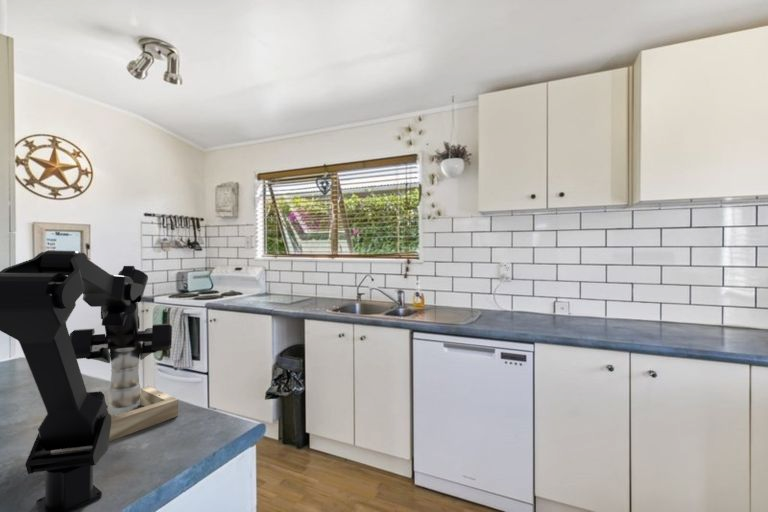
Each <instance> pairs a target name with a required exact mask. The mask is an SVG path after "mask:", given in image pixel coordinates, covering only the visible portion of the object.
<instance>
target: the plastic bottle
mask: <svg viewBox="0 0 768 512" xmlns="http://www.w3.org/2000/svg"><path fill="white" fill-rule="evenodd" d="M141 347H142V342H137V343H136V345H135V347H131V348H120V349H109V353H110V357H111V361H110V366H111V374H110V375H111V376H110V383H109V388H108V393H107V405H109V406H110V408H113V409H123V408H128V407H132V406H134V405H136V404H137V403H138V402H140V395H141V388H142V387H141V383H140V374H139V373H140V372H139V370H140V369H139V368H140V366H139V365H140V353H141Z"/></svg>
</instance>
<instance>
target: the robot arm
mask: <svg viewBox="0 0 768 512" xmlns="http://www.w3.org/2000/svg"><path fill="white" fill-rule="evenodd" d="M148 280H149V277H148V275H147V274H146V273H145V272H144V271H141V270H140V269H136V268H135V265H123V267H122V269H121V270H120V271H119V272H118V274H117V275H116V274H110V273H109V272H108V271H106V270H105V269H103V268H102V267H100V266H98V265H97V264H96V263H95V262H93V261H91V260H90V259H88V256H87V255H86V253H85V252H80V251H79V250H46V251H41V252H40V253H38V254H37V255H36V256H34V257H33V258H30V259H28V260H25V261H22V262H20V263H17V264H14V265H10V266H8V267H5V268H4V269H2V270H0V332H1V333H3V334H6V335H7V336H9V337H11V338H13V339H15V340H16V341H18V343H19V345H20V348H21V350H22V353H23V356H24V358H25V361H26V363H27V364H28V365H27V366H28V368H29V370H30V373H31V376H32V378H33V381H34V382H35V385H36V388H37V390H38V392H39V395H40V398H41V401H42V402H43V405H44V408H45V411H46V415H45V417H44V419H43V420H42V422H41V423H40V425H39V427H38V429H37V431H38V433H37V436H36V439H35V440H34V443H33V445H32V447H31V450H30V453H29V455H28V457H27V459H26V462H25V468H26V473H27V474H28V475H31V474H34V473H41V472H45V474H44V475H45V476H44V477H45V478H44V482H45V484H44V487H45V488H44V496H43V497H41V498H39V499H38V498H37V499H36V501H35V506H37V508H38V509H39V510H40V511H41V512H72V511H74V510H76V509H78V508H80V507H83V506H84V505H87V504H88V503H91V502H93V501H95V500H97V499H100V498H101V497H102V496H103V492H102V490H100V489H99V488H98V487H96V485H94V466H96V465H97V464H98V463H99V461H100V460H101V459H102V457H104V455H105V454H106V453H107V451H108V448H109V442H110V441H109V435H110V428H111V415H110V414H108V408H109V406H108V404H107V402H106V399H105V394H104V393H103V392H102V391H101V390H100V391H89V392H88V391H87V388H86V385H85V382H84V378H83V375H82V373H81V369H80V366H79V362H78V360H81V359H86V360H94V361H100V362H103V363H107V364H111V357H110V350H109V349H120V348H131V347H135V345H136V343H137V342H142V346H141V353H140V358H139V361H141V360H142V361H143V360H144V359H146V357H148V356H150V355H151V354H154V353H157V352H163V351H164V352H165V351H169V350H170V349H172V341H173V340H172V335H173V332H172V330H173V329H172V328H173V326H172V324H170V323H160V324H159V323H157V324H152V327H148V328H146V329H145V330H140V331H139V329H140V326H141V324H140V316H139V303H140V302H141V301H142V298H143V295H144V292H145V289H146V287H147V284H148ZM81 296H82V300H83V301H84V302H85V304H87V305H88V306H89V307H93V308H94V307H96V308H97V307H98V308H99V307H100V319H101V320H102V321H101V326H103V327H104V329H105V333H102V334H95V332H96V331H95V328H82V329H81V328H80V329H73V331H71V332H70V333H69V330H68V326H67V321H68V319H69V318H70V316H71V314H72V313H73V311H74V309H75V308H76V305H77V304H76V302H77V301H78V299H79V298H80V297H81ZM83 447H91V448H84V449H81V448H83ZM75 448H77V449H75ZM78 448H80V449H78ZM66 449H68V450H66ZM69 449H71V450H69ZM72 449H74V450H72ZM57 450H63V451H57ZM64 450H65V451H64ZM52 451H57V452H52Z"/></svg>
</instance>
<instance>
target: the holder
mask: <svg viewBox="0 0 768 512" xmlns="http://www.w3.org/2000/svg"><path fill="white" fill-rule="evenodd" d="M159 395H160V396H159ZM139 405H141V406H142V407H139V408H136V409H133V410H131V411H127V412H124V413H121V414H117V415H115V414H114V413H113V412H111V411H108V414H110V415H111V428H110V435H109V442H111V441H114V440H117V439H120V438H122V437H125V436H128V435H130V434H131V435H132V434H133V433H136V432H138V431H141V430H144V429H146V428H149V427H152V426H155V425H158V424H160V423H163V422H165V421H168V420H170V419H171V420H172V419H173V418H176V417H178V416H179V398H176V397H174V396H172V395H170V394H167V393H165V392H163V391H160V390H158V389H156V388H154V387H152V386H149V385H148V386H145V387H144V386H143V387H141V395H140V399H139Z"/></svg>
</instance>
